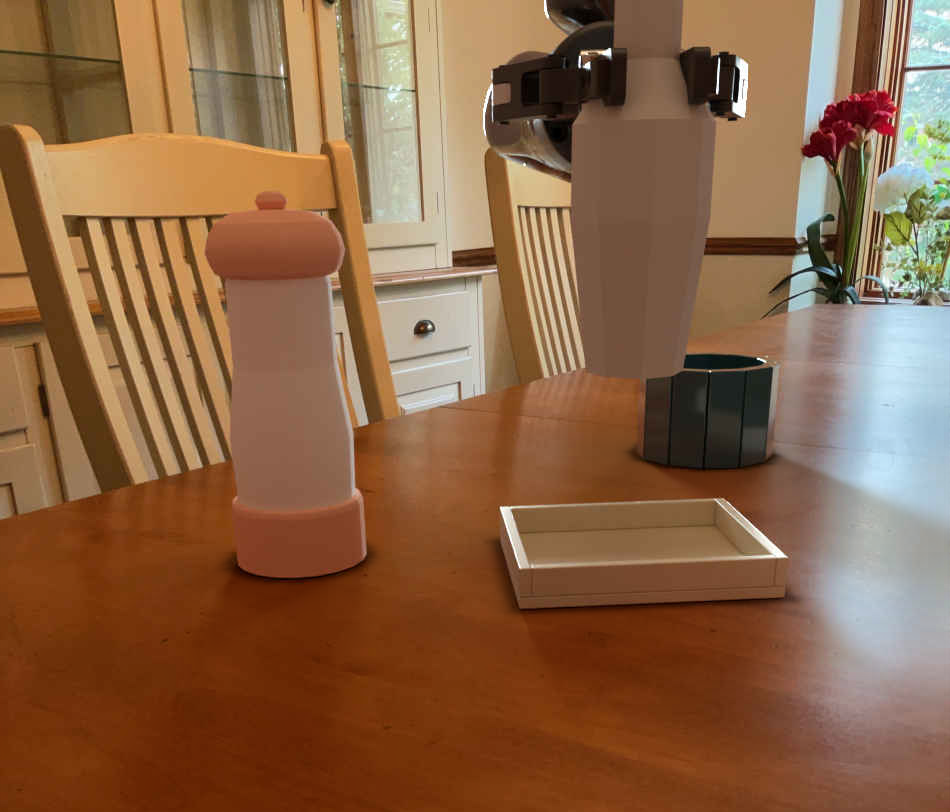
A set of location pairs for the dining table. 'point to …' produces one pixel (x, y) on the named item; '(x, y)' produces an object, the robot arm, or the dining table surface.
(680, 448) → the holder
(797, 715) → the dining table surface
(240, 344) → the salt shaker
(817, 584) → the dining table surface
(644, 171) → the faceted bottle
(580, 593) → the tray
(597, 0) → the robot arm
